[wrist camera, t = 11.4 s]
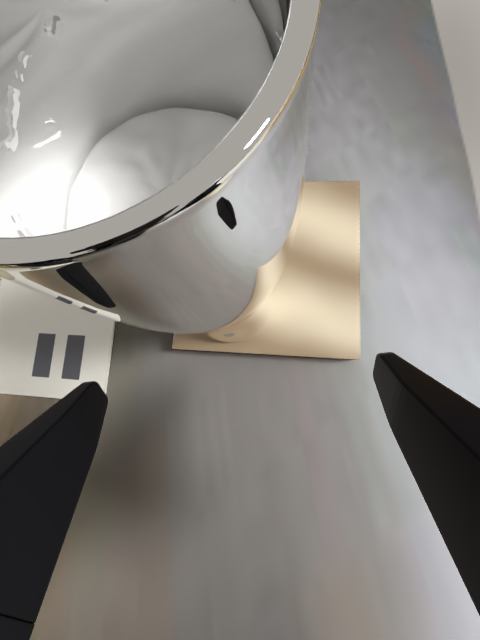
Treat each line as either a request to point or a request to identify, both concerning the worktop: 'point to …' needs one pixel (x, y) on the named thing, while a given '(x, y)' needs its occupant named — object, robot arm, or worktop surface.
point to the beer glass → (155, 156)
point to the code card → (50, 344)
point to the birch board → (311, 284)
